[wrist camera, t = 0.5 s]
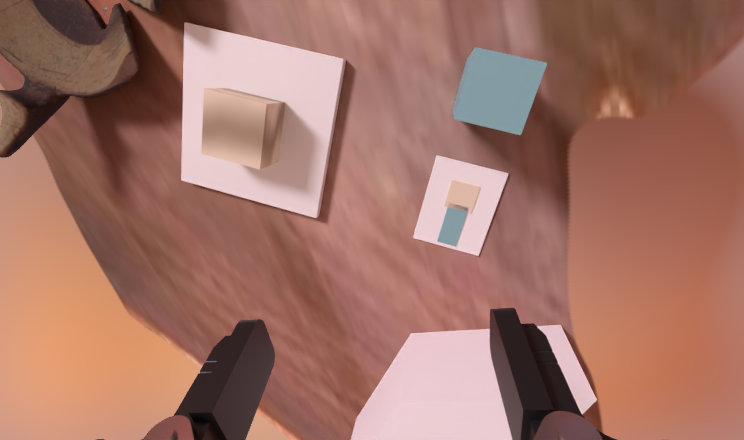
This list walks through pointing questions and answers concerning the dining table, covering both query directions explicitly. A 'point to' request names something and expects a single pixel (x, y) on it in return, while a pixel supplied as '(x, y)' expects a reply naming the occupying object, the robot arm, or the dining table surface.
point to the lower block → (241, 127)
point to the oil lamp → (60, 59)
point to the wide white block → (453, 389)
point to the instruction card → (459, 204)
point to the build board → (271, 80)
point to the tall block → (497, 90)
